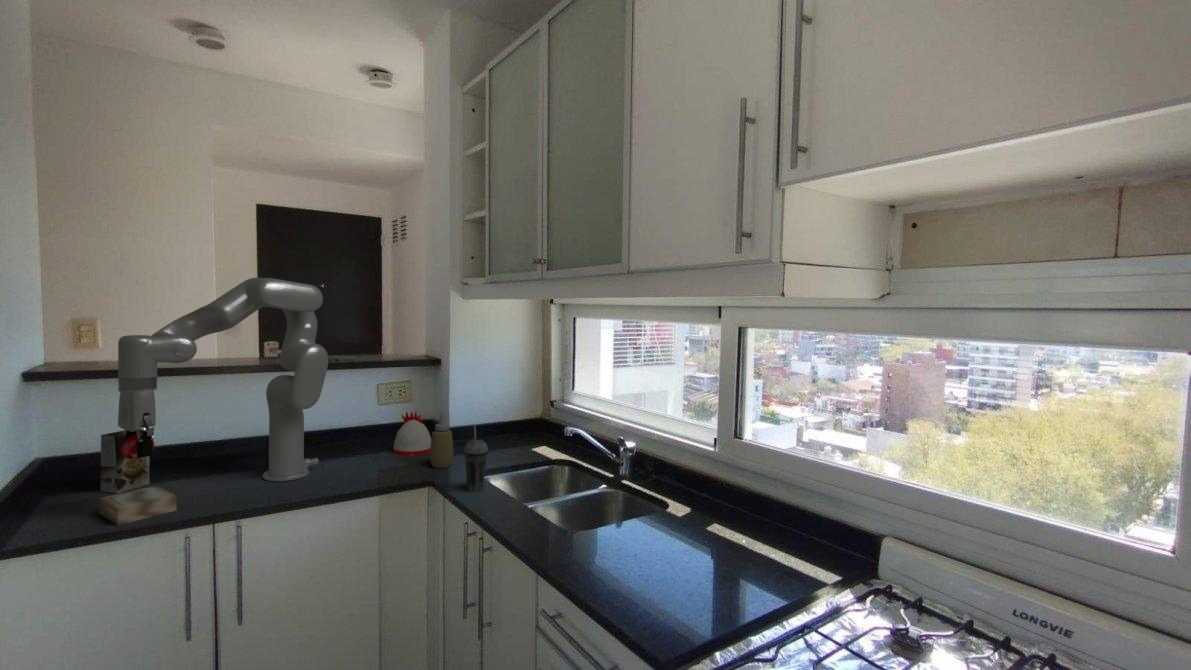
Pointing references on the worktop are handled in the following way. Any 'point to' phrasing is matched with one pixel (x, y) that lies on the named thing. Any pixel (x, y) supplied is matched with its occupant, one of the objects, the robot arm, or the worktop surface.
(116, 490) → the coffee box
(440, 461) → the squeeze bottle
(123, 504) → the pedestal
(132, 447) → the red bell pepper
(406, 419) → the kitchen timer
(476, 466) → the beverage cup
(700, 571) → the worktop surface
